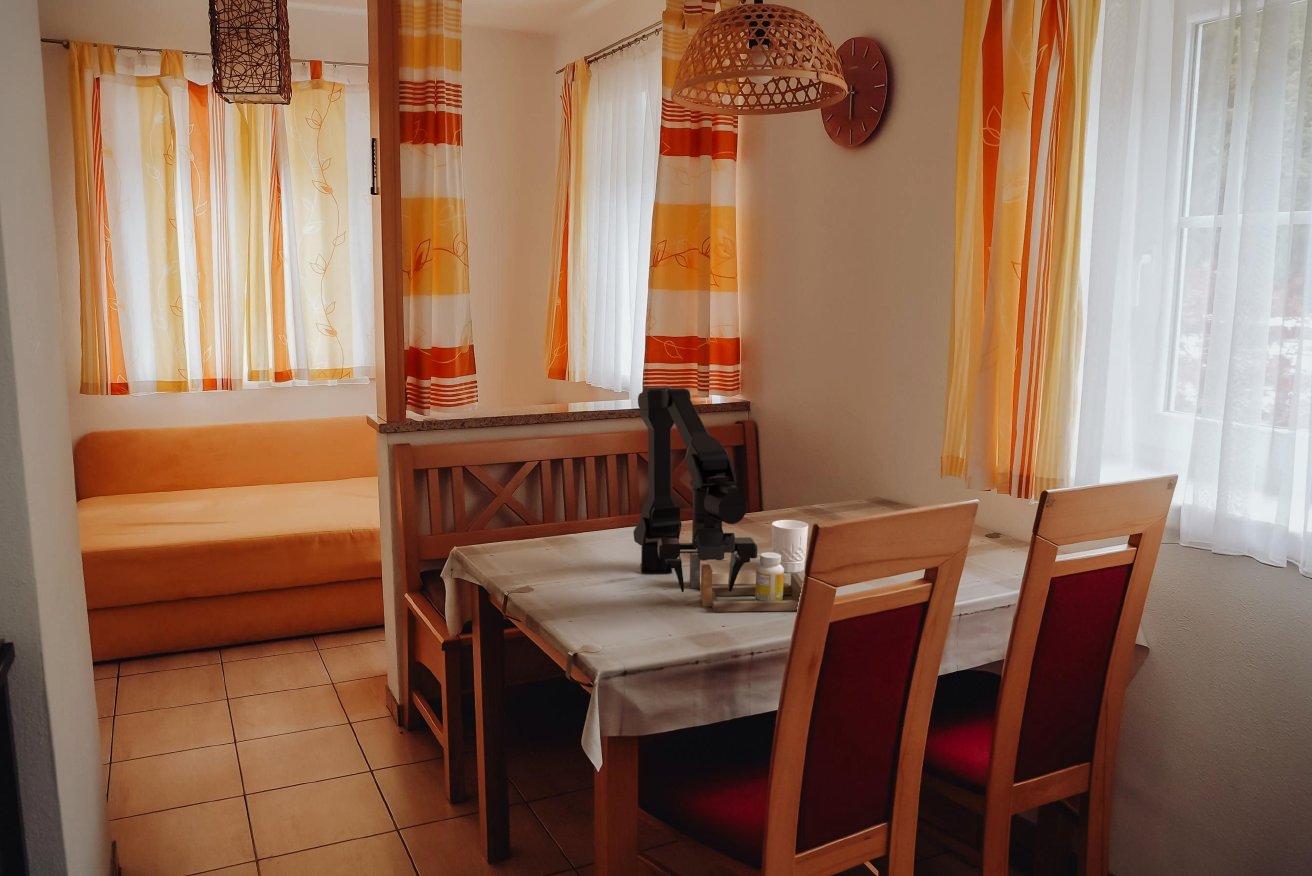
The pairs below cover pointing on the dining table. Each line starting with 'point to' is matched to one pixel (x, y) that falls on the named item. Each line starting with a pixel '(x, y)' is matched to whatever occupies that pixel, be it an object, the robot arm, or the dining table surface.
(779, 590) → the supplement bottle
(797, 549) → the white cup
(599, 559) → the dining table surface
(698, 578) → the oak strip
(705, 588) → the wooden tray
